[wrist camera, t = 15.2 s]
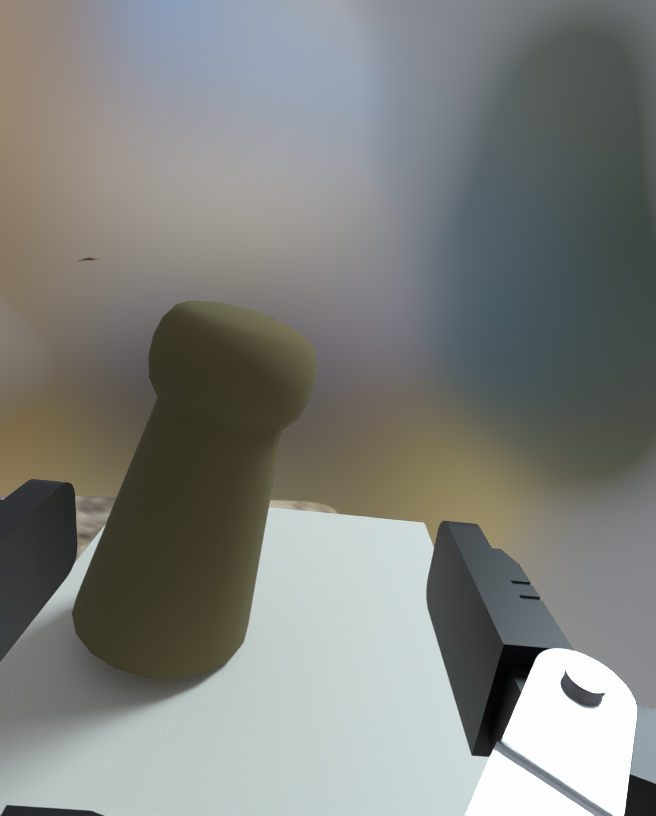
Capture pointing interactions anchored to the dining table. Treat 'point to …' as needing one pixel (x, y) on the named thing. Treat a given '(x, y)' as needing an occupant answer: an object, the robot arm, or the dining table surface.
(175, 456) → the cork
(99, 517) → the dining table surface
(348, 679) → the peg shelf
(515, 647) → the robot arm
